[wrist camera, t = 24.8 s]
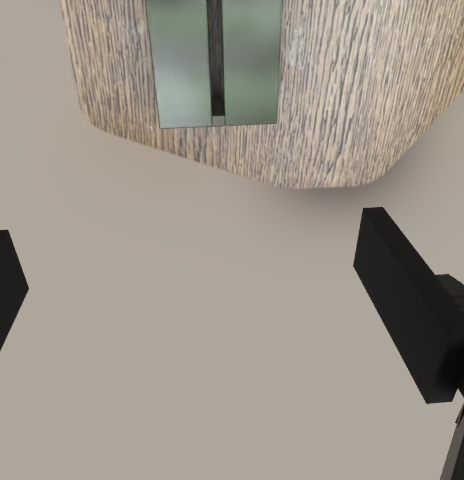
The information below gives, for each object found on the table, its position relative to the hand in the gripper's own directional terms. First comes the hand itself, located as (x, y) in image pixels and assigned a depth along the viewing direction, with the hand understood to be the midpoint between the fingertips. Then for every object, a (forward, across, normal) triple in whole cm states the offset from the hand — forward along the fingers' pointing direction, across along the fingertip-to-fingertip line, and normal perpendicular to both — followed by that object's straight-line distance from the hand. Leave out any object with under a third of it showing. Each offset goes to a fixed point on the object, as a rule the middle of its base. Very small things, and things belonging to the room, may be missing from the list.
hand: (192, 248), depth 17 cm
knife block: (+31, +2, +2) cm, 32 cm away
